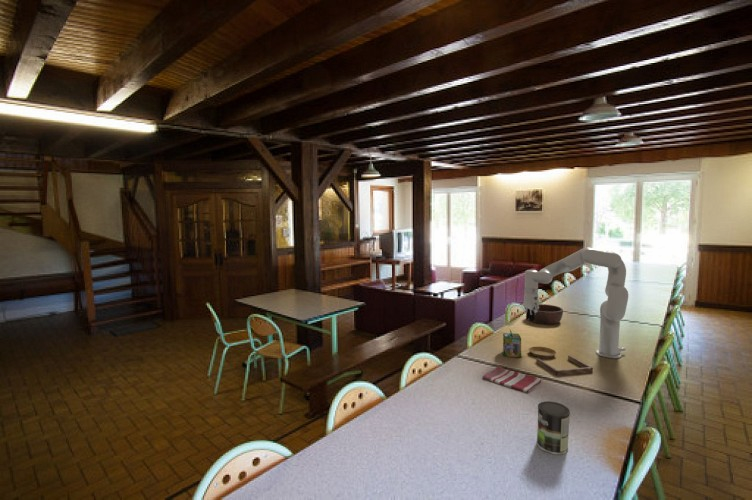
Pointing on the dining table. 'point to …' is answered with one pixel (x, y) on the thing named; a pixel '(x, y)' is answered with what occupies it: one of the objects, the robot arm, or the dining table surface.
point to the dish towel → (513, 379)
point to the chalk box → (511, 345)
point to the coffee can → (553, 427)
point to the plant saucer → (542, 352)
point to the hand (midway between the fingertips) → (530, 319)
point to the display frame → (584, 369)
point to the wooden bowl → (548, 314)
